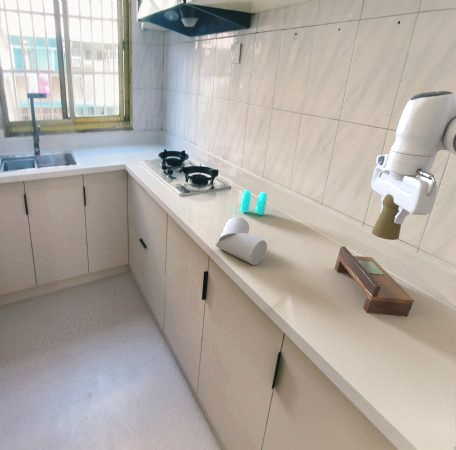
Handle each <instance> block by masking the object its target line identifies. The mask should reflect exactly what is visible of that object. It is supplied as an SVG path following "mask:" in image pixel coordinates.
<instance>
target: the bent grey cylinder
mask: <svg viewBox="0 0 456 450" xmlns="http://www.w3.org/2000/svg"><path fill="white" fill-rule="evenodd" d="M249 232H250V224H249V222H248V221H247V220H246V218H243V217H241V216H234V217H231V218H229V219H228V220H227V222H226V224H225V226H224V228H223V229H222V232H221V234H220V236H219V239H218V241H217V242H216V244H215V247H216V248H217V249H219V250H222V251H224V252H226V253H228V254H230V255H232V256H234V257H236V258H238V259H240V260H242V261H243V262H246V263H248V264H250V265H252V266H257V265H259V264H260V263H261V262H262V261H263V259H264V258H265V256H266V253H267V249H268V243H267V241H266V240H264V239H261V238H259V237H257V236H255V235H253V234H250V233H249Z"/></svg>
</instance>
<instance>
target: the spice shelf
mask: <svg viewBox="0 0 456 450" xmlns="http://www.w3.org/2000/svg"><path fill="white" fill-rule="evenodd" d="M334 270H335V271H336V272H337V273H346V274H347V273H348V274H349V275H350V276H351V277H352V278H353V279H354V281H355V282H356V283H357V285H358V286H359V287H360V288H361V290H362V291H363V292H364V294H365V295H366V298H365V301H364V305H363V306H362V307H363V310H364V311H365V313H370V314H376V315H377V314H378V315H379V314H380V315H387V316H388V315H389V316H399V317H400V316H401V317H408V316H409V314H410V312H411V309H412V307H413V304H414V302H415V300H414V298H413V297H412V296H411V295H410V294H409V293H408V292H406V290H405V289H404V288H403V287H402V286H401V285H400V284H399V283H398V282H397V281H396V280H395V279H394V278H393V277H392V276H391V275H390V274H389V273H388V272H387V271H386V270H385V269H384V268H383V267H382V266H381V265H380V264H379V263H378V262H377V260H375V258H373V257H371V256H360V255H359V256H357V255H353V254H352V253H351V252H350V250H349V249H348V248H347V247H346V246H343V245H341V246H340V248H339V252H338V256H337V258H336V262H335V266H334Z"/></svg>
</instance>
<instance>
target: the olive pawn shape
mask: <svg viewBox="0 0 456 450" xmlns="http://www.w3.org/2000/svg"><path fill="white" fill-rule="evenodd" d="M384 205H385V206H384V208H383V210H382V212H380V214H379V216H378V217H377V220H376V222H375V224H374V226H373V228H372V230H371V234H372V235H373V236H376V237H377V238H380V239H384V240H389V241H396V240H399V238H400V233H401V227H402V224H396V223H395V222H393V216H394V215H397V213H398V212H399V210H398V209H399V206H398V205H396V204H395V203H394V199H393V196H392V195H390V194H387V195H386V196H385V198H384Z"/></svg>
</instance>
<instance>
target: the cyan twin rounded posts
mask: <svg viewBox="0 0 456 450" xmlns="http://www.w3.org/2000/svg"><path fill="white" fill-rule="evenodd" d="M267 200H268V194H267V192H265V191H262V192H260V193H259V194H258V197H257V201H256V207H255V212H256V214H257V215H258V216H263V215H264V214H265V212H266V206H267ZM251 201H252V193H251V191H250V190H249V189H245V190H244V191H243V193H242V197H241V203H240V211H242V212H241V213H243V212H246V213H248V212H249V210H250V207H251Z"/></svg>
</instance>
